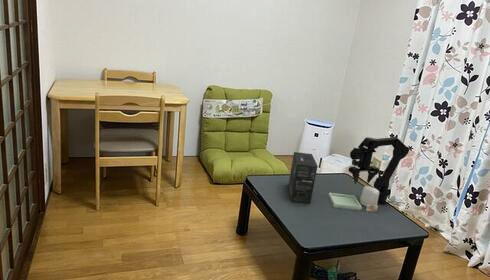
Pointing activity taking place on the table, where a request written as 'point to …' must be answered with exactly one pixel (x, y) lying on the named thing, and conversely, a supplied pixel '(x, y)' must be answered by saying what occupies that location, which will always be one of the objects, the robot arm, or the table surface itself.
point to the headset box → (302, 177)
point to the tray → (344, 201)
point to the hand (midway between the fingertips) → (361, 183)
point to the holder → (371, 207)
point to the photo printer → (369, 196)
